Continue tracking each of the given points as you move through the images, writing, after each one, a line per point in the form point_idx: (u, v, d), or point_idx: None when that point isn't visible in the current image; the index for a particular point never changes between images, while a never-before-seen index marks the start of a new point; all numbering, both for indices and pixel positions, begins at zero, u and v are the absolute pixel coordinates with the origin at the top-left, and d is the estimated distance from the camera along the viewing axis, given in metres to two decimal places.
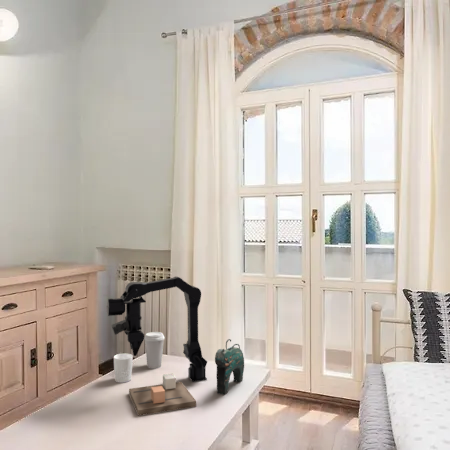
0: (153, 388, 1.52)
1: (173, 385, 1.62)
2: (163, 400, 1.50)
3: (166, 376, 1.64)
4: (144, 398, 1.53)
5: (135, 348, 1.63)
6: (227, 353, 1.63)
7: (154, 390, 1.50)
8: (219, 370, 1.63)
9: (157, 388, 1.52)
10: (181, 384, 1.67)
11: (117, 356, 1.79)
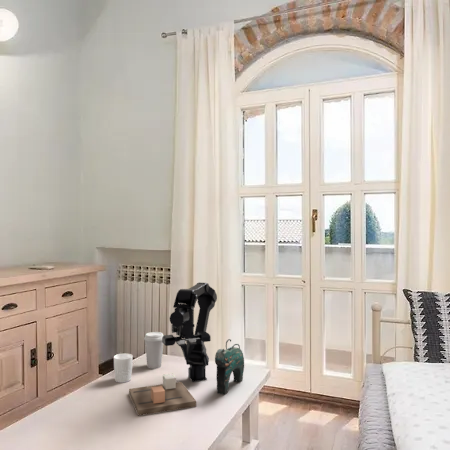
0: (153, 388, 1.52)
1: (173, 385, 1.62)
2: (163, 400, 1.50)
3: (166, 376, 1.64)
4: (144, 398, 1.53)
5: (183, 352, 1.66)
6: (227, 353, 1.63)
7: (154, 390, 1.50)
8: (219, 370, 1.63)
9: (157, 388, 1.52)
10: (181, 384, 1.67)
11: (117, 356, 1.79)
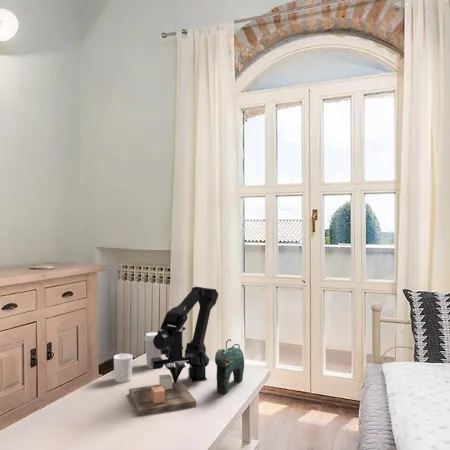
0: (153, 388, 1.52)
1: (169, 385, 1.62)
2: (163, 400, 1.50)
3: (163, 376, 1.64)
4: (144, 398, 1.53)
5: (171, 374, 1.65)
6: (227, 353, 1.63)
7: (154, 390, 1.50)
8: (219, 370, 1.63)
9: (157, 388, 1.52)
10: (181, 384, 1.67)
11: (117, 356, 1.79)
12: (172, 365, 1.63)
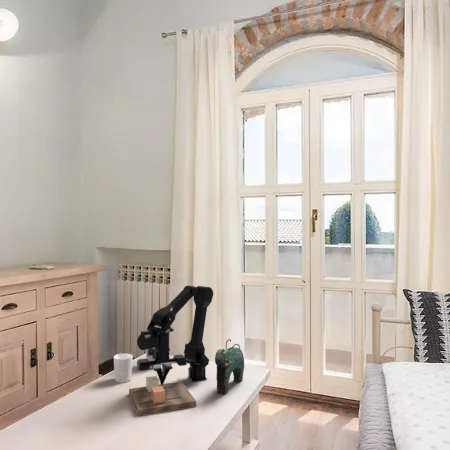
0: (153, 388, 1.52)
1: None
2: (163, 400, 1.50)
3: (149, 378, 1.62)
4: (144, 398, 1.53)
5: (158, 376, 1.63)
6: (227, 353, 1.63)
7: (154, 390, 1.50)
8: (219, 370, 1.63)
9: (157, 388, 1.52)
10: (181, 384, 1.67)
11: (117, 356, 1.79)
12: (159, 367, 1.61)
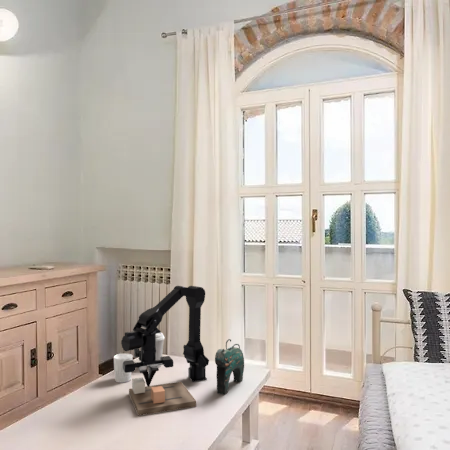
0: (153, 388, 1.52)
1: (142, 389, 1.58)
2: (163, 400, 1.50)
3: (135, 380, 1.60)
4: (144, 398, 1.53)
5: None
6: (227, 353, 1.63)
7: (154, 390, 1.50)
8: (219, 370, 1.63)
9: (157, 388, 1.52)
10: (181, 384, 1.67)
11: (117, 356, 1.79)
12: (145, 368, 1.59)
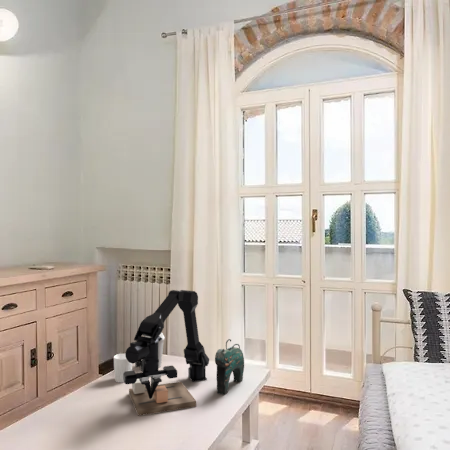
0: (156, 388, 1.52)
1: (142, 389, 1.58)
2: (166, 400, 1.50)
3: None
4: (144, 398, 1.53)
5: (146, 389, 1.50)
6: (227, 353, 1.63)
7: (157, 390, 1.51)
8: (219, 370, 1.63)
9: (160, 388, 1.52)
10: (181, 384, 1.67)
11: (117, 356, 1.79)
12: (147, 379, 1.48)
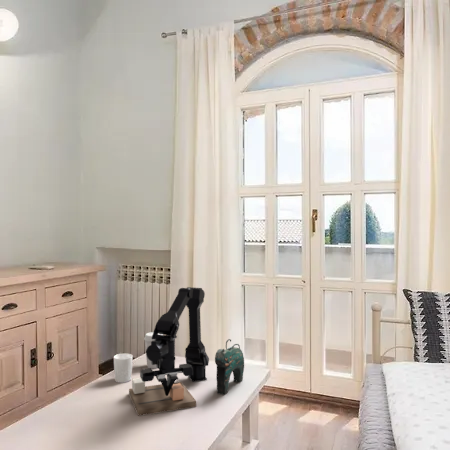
0: None
1: (142, 389, 1.58)
2: (182, 397, 1.52)
3: (135, 380, 1.60)
4: (144, 398, 1.53)
5: (163, 387, 1.52)
6: (227, 353, 1.63)
7: (173, 387, 1.53)
8: (219, 370, 1.63)
9: (175, 386, 1.54)
10: (181, 384, 1.67)
11: (117, 356, 1.79)
12: (163, 377, 1.50)
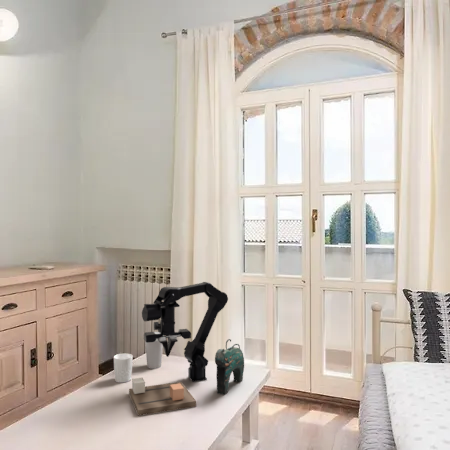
0: (172, 385, 1.55)
1: (142, 389, 1.58)
2: (182, 397, 1.52)
3: (135, 380, 1.60)
4: (144, 398, 1.53)
5: (164, 348, 1.71)
6: (227, 353, 1.63)
7: (173, 387, 1.53)
8: (219, 370, 1.63)
9: (175, 386, 1.54)
10: (181, 384, 1.67)
11: (117, 356, 1.79)
12: (164, 339, 1.69)
